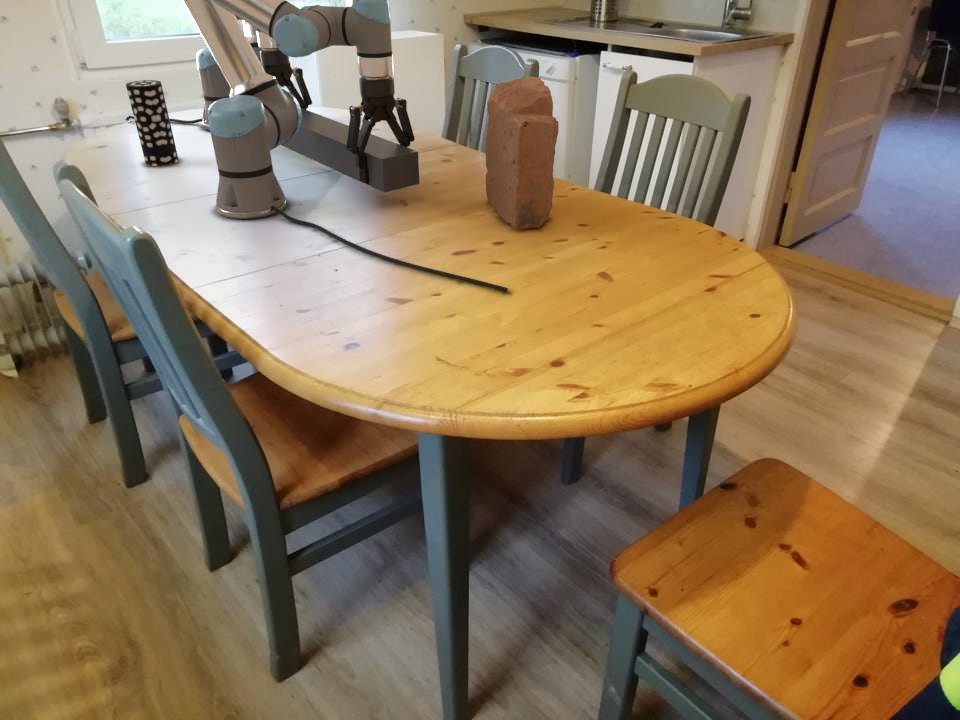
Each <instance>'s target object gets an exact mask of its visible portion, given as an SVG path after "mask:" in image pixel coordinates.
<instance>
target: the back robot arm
mask: <svg viewBox="0 0 960 720" xmlns="http://www.w3.org/2000/svg"><path fill="white" fill-rule="evenodd" d="M236 18H237V20H238V21H242V24H243V31H244V33H245V35H246V37H247V39H248V40H249V42H250V44H251V46H252V48H253V50H254V52H255V54H256V56H257V58H258V59H259V61H260V63H261V65H262V67H263V69H264V71H265V72H266V73H267V74H269V75H272V76H274V77H275V78H276V79H277V81H278V83H279V85H280V87H281V88H284V87H286V89H287V90H288V92H290V93H291V94H292V95H293V96H294V97H295V98H296V100H297V101H298V103H299V105H300V108H302V109H305V110H308V109H309V106H312V104H313V101H312V98H311V95H310V92H309V90H308V87H307V85H306V82H305V79H304V71H303V69H302V68H300V67H294V68H293V67H292V66H291V57H289V56H287V55H285V54H284V53H282V52H281V51H280V49H279V48H278V46H277V45H276V43H275V41H274V39H273V38H271V37H270V36H268V35H266V34H265V33H263V32H262V31H260V30H258V29H257V28H255V27H253V26H252V25H250V24H248V23H247V22H245V21H244V20H242V19H240V18H239V17H237V16H236ZM195 58H196V65H197V66H196V69H197V71H198V75H199V79H200V80H199V81H200V85H201V90H202V96H203V101H204V105H203V110H202V111H203V112H202V118H197V119H193V120H185V119H177V118H169V120H170V123H171V122H173V123H180V124H196V123H201V124H202V128H203V129H204V130H205V131H209V132H210V129H209V126H208V125H209V124H208V123H209V120H208V109H209V107H210V106H211V104H213V103H214V102H215V101H217V100H220V99H222V98H229V97H230V94H231V87H230V85H229V84H228V82H227V80H226V78H225V76H224V75H223V73H222V71H221V69H220V67H219V65H218V64H217V62H216V60H215V58H214V56H213V55H212V53H211V51H210V49H209V47H208V46H207V47H204V48H202V49H199V50H198V51H197V53H196V55H195ZM292 75H293V77H294V79H295V82H296V85H297V87H298V89H297V88H296V86H295V84H294V82H293V81H292V79H291V78H292ZM298 90H299V91H298ZM300 94H301V95H300ZM131 119H132V120H134V121H135V119H134V115H128V116H127V117H126V118H125V121H130V120H131Z"/></svg>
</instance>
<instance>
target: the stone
mask: <svg viewBox="0 0 960 720" xmlns="http://www.w3.org/2000/svg"><path fill="white" fill-rule="evenodd" d="M486 107H487V109H486V110H487V114H488V120H487V125H486V134H485V141H484V142H485V143H484V144H485V145H484V146H485V167H486V173H485V194H486V198H487V199H486V200H487V201H488V203H489V204H490V205H491V206H492V208H493V210H494V211H496V212H497V213H498V214H499V216H500V217H501V219H503V221H505V223H507V224H509V225H511V226H512V228H514V229H515V230H526V229H531V228H540V227H541V226H542V225H543V224H544V223H545V222H546V221H548V219H549V217H550V213H551V210H552V209H553V196H554V189H555V179H554V164H555V155H556V145H557V141H558V136H559V129H560V128H559V121H558V120H557V118H556V117H555V116H554V115H553V113H554V102H553V96H552V93H551V89H550V87H549V86H548V85H546V84H545V82H544V81H543V80H542V79H541V78H540V77H537V76H526V77H520V78H515V79H513V80H511V81H504V82H500V83H498V84H497V85H496V86H495V87H494V88H493V90H492V92H491V93H490V96H489V97H488V99H487V103H486Z"/></svg>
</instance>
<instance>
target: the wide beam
mask: <svg viewBox="0 0 960 720" xmlns="http://www.w3.org/2000/svg"><path fill="white" fill-rule="evenodd" d="M301 113H302V122H301V126H300V129H299V131H298V132H297V134H296V135H295V136H293V137H292V138H291V140H289V141H288V142H286V143H284V144H281V145H280V146H281V147H284V148H286V149H288V150H290V151H291V152H294V153H297V154H299V155H301V156H304V157H306V158H308V159H310V160H312V161H314V162H317V163H319V164H321V165H322V166H325V167H327V168H329V169H332V170H334V171H335V172H338V173H341V174H343V175H345V176H347V177H349V178H351V179H354V180H356V181H358V182H360V183H362V184H364V185H366V186H368V187H371V188H373V189H375V190H378V191H380V192H382V193H384V194H385V193H388V192H393V191H396V190H401V189H404V188H409V187H413V186H416V185H420V165H419V163H420V162H419V150H416V149H413V148H410V147H409V146H408V147H405V146H402V145H400V143H396V142H394V141H391V140H388V139H386V138H384V137H381V136H377V135H375V134H372V133H371V134H370V137H369V140H368V142H367V145H366V148H365V151H364V154H366V155H367V162H368V175H369V184H365V183H363V182H361V181H360V175H359V169H357V168H356V163H355V155H354V154H352V153H350V152H347V151H346V146H347V139H348V131H349V124H345V123H343V122H340V121H338V120H335V119H332V118H329V117H326V116H324V115H321V114H319V113H315V112H314V111H310V110H308V109H306V110H305V109H302V108H301ZM360 130H361V129H360ZM360 130H359V132H360Z"/></svg>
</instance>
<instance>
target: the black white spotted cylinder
mask: <svg viewBox="0 0 960 720" xmlns="http://www.w3.org/2000/svg"><path fill="white" fill-rule="evenodd" d="M125 87H126V91H127V95H128V99H129V103H130V107H131V110H132V116H134V119H135V120H134V119H133V120H134V122H135V123H134V124H135V127H136V130H137V134H138V139H139V143H140V146H141V150H142V155H143V158H144V163H145V164H146V165H147V166H151V167H164V166H170V165H174V164H176V163H178V162H179V155H178V150H177V146H176V142H175V137H174V133H173V128H172V125H171V121H170V120H169V119H170V116H169V111H168V107H167V103H166V98H165V93H164V89H163V84H162V81H161V80H155V79H154V80H153V79H151V80H150V79H145V80H144V79H141V80H134V81H130V82H129V81H128V82H127V83H126V84H125Z"/></svg>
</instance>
